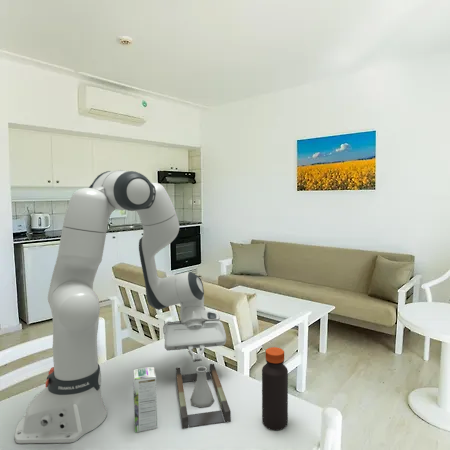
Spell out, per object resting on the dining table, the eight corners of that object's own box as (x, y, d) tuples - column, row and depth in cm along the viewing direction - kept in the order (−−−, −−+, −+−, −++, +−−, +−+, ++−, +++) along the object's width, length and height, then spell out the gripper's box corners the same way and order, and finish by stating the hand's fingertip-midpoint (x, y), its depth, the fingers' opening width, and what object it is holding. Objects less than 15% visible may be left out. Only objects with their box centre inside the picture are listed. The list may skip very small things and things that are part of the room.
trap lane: (182, 428, 93) (182, 417, 93) (176, 376, 120) (175, 367, 119) (230, 421, 96) (230, 411, 95) (213, 372, 122) (213, 363, 122)
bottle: (293, 425, 94) (293, 353, 92) (272, 434, 90) (272, 359, 89) (277, 411, 100) (277, 343, 98) (257, 419, 96) (256, 349, 94)
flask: (212, 408, 101) (211, 375, 101) (187, 407, 102) (186, 374, 101) (215, 394, 109) (215, 363, 108) (192, 393, 109) (192, 362, 109)
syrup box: (134, 419, 97) (132, 369, 96) (155, 415, 99) (154, 365, 97) (135, 433, 92) (133, 379, 90) (158, 428, 93) (156, 376, 92)
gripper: (162, 318, 116) (164, 360, 108) (223, 313, 120) (229, 354, 112) (162, 326, 121) (164, 367, 112) (221, 321, 125) (227, 361, 116)
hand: (197, 360), depth 112 cm, fingers closed
